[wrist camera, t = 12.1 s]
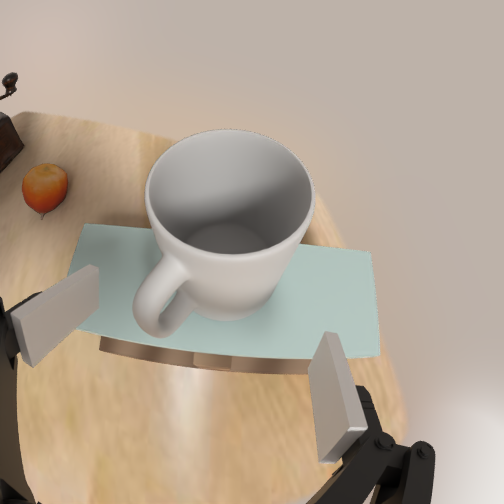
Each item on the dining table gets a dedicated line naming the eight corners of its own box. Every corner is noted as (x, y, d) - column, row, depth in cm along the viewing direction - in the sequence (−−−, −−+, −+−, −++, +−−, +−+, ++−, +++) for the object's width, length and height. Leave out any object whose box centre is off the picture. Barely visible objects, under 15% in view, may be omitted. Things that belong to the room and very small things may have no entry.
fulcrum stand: (102, 351, 26) (69, 338, 19) (122, 256, 32) (100, 222, 24) (329, 373, 28) (363, 368, 21) (327, 277, 34) (354, 248, 26)
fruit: (18, 205, 31) (18, 162, 27) (56, 194, 38) (59, 153, 33) (31, 233, 30) (29, 186, 25) (72, 219, 36) (77, 174, 32)
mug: (214, 211, 25) (216, 111, 15) (294, 261, 23) (342, 174, 14) (126, 312, 20) (57, 248, 10) (211, 380, 18) (201, 380, 8)
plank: (62, 325, 19) (55, 322, 18) (89, 229, 24) (84, 223, 23) (373, 357, 21) (380, 355, 20) (364, 257, 26) (370, 252, 25)
